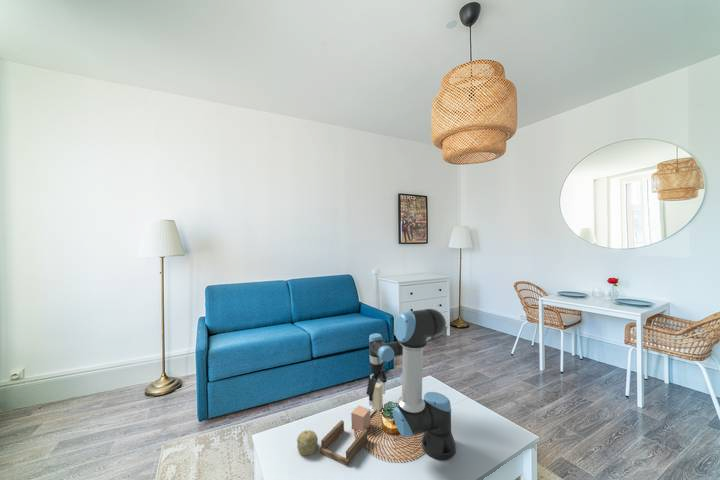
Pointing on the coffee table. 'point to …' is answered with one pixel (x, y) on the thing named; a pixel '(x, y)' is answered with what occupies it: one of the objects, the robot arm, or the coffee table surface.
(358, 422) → the pair of rectangular blocks
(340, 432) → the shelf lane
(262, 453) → the coffee table surface
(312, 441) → the decorative object
